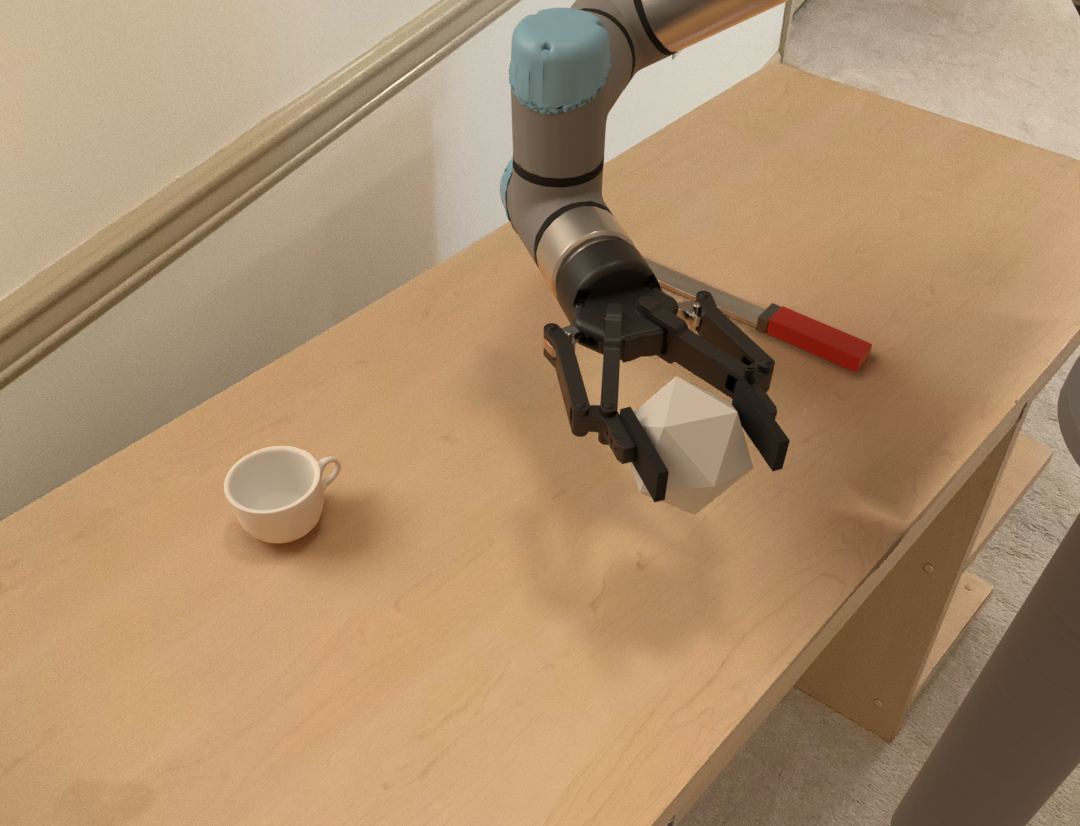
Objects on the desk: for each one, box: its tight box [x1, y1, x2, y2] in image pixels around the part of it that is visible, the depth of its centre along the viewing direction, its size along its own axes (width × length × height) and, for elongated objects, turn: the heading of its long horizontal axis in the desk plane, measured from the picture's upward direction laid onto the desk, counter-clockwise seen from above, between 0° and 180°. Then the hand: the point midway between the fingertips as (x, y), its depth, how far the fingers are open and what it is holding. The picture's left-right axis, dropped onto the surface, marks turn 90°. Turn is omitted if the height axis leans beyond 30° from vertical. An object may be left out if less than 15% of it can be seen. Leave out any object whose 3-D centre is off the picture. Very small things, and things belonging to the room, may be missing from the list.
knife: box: [643, 257, 873, 373], centre depth 105 cm, size 27×3×2 cm, turn 53°
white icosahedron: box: [629, 375, 754, 516], centre depth 72 cm, size 8×9×10 cm
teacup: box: [223, 445, 342, 544], centre depth 85 cm, size 10×8×5 cm
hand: (722, 471), depth 67 cm, fingers closed on white icosahedron, 8 cm apart
